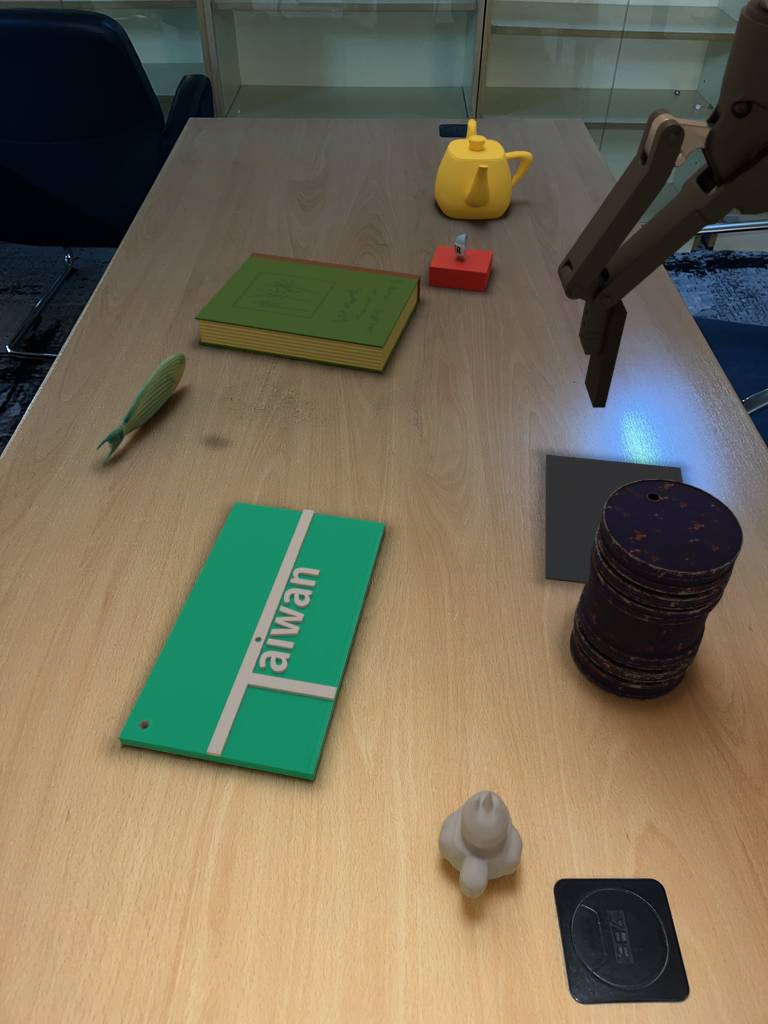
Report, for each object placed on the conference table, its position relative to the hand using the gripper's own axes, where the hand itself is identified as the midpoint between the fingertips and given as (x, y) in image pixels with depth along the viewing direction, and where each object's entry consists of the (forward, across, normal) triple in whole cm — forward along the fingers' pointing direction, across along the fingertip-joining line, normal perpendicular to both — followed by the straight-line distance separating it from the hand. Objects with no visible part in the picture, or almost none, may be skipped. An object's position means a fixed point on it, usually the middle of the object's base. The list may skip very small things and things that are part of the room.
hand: (702, 395), depth 51 cm
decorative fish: (+26, +43, -29) cm, 58 cm away
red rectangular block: (+26, +8, -66) cm, 71 cm away
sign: (+25, +30, -2) cm, 39 cm away
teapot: (+26, +3, -92) cm, 95 cm away
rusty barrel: (+26, 0, +1) cm, 26 cm away
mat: (+25, -3, -15) cm, 30 cm away
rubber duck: (+26, +14, +18) cm, 34 cm away
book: (+26, +29, -54) cm, 66 cm away
